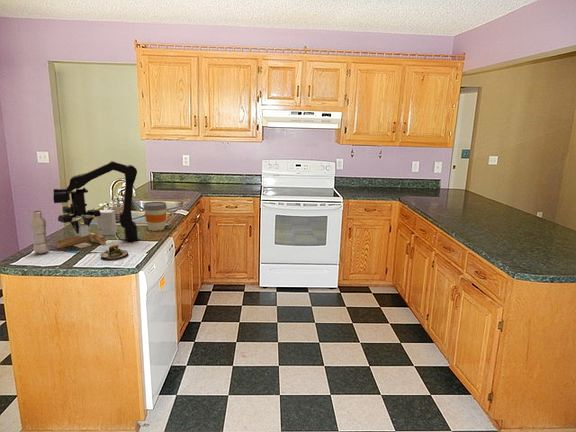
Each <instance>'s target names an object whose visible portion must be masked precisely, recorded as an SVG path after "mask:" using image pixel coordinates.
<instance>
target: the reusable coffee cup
mask: <svg viewBox="0 0 576 432" xmlns="http://www.w3.org/2000/svg"><path fill="white" fill-rule="evenodd" d="M143 210H144V218H145V222H146V223H147V224H146V225H147V230H148V231H151V230H152V232H154V231H155V232H157V231H158V230H159V231H163V230H165V226H166V220H167V203H166V202H164V201H151V202H150V201H148V202H144V203H143Z"/></svg>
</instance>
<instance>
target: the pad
mask: <svg viewBox="0 0 576 432" xmlns="http://www.w3.org/2000/svg"><path fill="white" fill-rule="evenodd" d="M90 246H92V243H88V242H83V243H79V244H75V245H73V247H77V248H79V249H82V248H86V247H90Z"/></svg>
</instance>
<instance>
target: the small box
mask: <svg viewBox="0 0 576 432" xmlns="http://www.w3.org/2000/svg"><path fill="white" fill-rule="evenodd" d="M99 211H100V212H101V216H97V217H96V226H97V234H98V235H101V236H114V235H115V234H116V233H117V232H118V231H117V220H116V219H117V218H116V211H115V209H99Z"/></svg>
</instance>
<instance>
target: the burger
mask: <svg viewBox="0 0 576 432" xmlns="http://www.w3.org/2000/svg"><path fill="white" fill-rule="evenodd" d="M126 255H127V256H129V252H128V250H125V249H120V247H119V245H118V244H117V243H113V240H112V244H110V245H108V250H105V251H103V252H101V253H100V259H101V260H103V259H108V260H113V259H119V258H124V257H125V256H126Z"/></svg>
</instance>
